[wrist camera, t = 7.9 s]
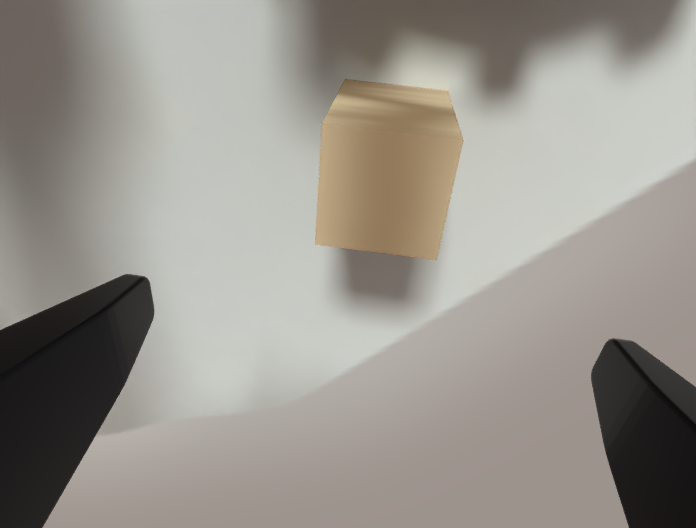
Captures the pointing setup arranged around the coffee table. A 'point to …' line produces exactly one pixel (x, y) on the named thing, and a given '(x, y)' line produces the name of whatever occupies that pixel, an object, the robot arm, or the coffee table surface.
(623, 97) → the coffee table surface
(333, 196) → the block
